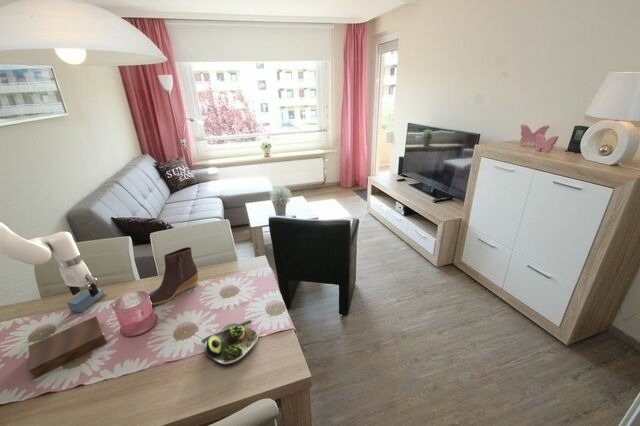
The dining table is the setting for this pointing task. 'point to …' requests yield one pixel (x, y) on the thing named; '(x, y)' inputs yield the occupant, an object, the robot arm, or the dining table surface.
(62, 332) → the brown wooden block
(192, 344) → the dining table surface
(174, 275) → the boot
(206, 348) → the salad plate
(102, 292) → the stepped blue block
